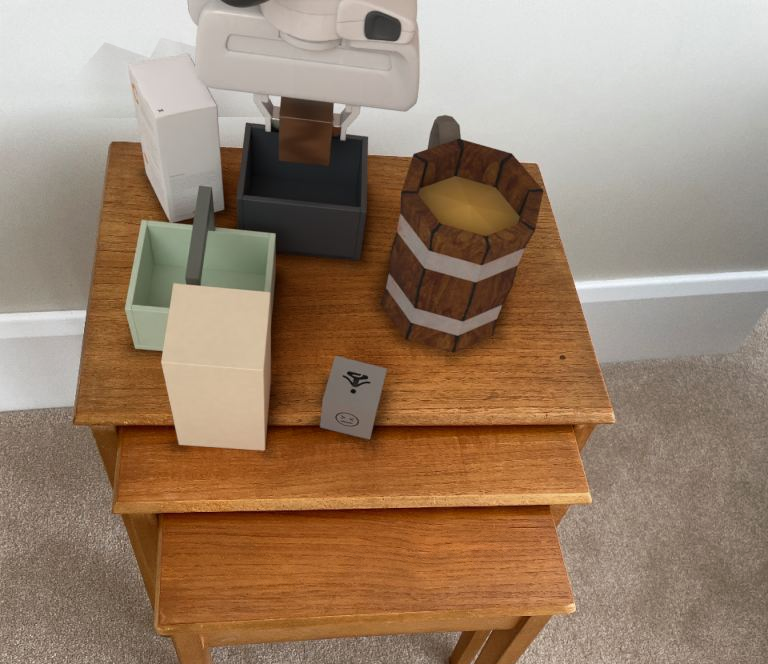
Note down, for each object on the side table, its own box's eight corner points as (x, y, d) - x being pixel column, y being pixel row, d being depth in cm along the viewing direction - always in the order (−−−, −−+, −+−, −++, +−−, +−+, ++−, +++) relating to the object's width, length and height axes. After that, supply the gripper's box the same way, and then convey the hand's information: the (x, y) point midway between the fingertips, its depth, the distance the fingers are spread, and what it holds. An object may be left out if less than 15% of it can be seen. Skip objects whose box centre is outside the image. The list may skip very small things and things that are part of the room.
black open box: (239, 249, 84) (236, 198, 77) (247, 175, 88) (245, 122, 82) (359, 261, 85) (366, 212, 79) (361, 188, 90) (368, 136, 84)
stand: (178, 445, 73) (160, 362, 61) (188, 374, 76) (173, 282, 65) (265, 451, 74) (263, 370, 62) (270, 380, 77) (270, 291, 66)
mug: (514, 349, 83) (561, 246, 69) (390, 355, 80) (413, 250, 67) (477, 211, 91) (512, 95, 77) (363, 213, 88) (379, 93, 75)
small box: (226, 211, 86) (218, 105, 74) (169, 225, 84) (153, 118, 72) (199, 160, 89) (189, 51, 77) (144, 172, 87) (125, 62, 75)
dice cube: (380, 398, 78) (387, 368, 74) (370, 439, 76) (376, 412, 71) (331, 385, 78) (335, 355, 73) (319, 427, 76) (322, 398, 71)
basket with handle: (134, 348, 77) (114, 270, 67) (150, 263, 81) (133, 178, 72) (268, 360, 78) (267, 285, 68) (275, 275, 83) (276, 193, 73)
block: (278, 160, 77) (279, 116, 72) (281, 125, 79) (282, 80, 75) (329, 166, 77) (332, 122, 73) (331, 131, 80) (334, 86, 75)
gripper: (180, -6, 62) (195, 142, 74) (433, 28, 64) (407, 166, 77) (189, -53, 65) (202, 97, 77) (432, -19, 67) (407, 122, 79)
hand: (306, 132), depth 77 cm, fingers closed on block, 5 cm apart
